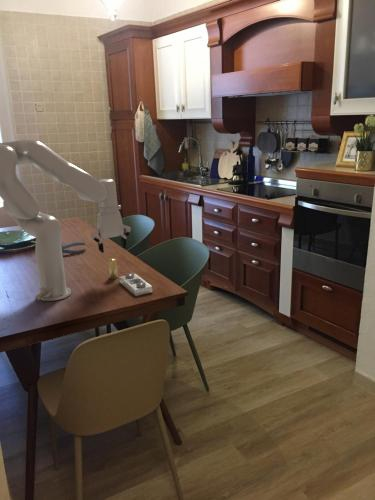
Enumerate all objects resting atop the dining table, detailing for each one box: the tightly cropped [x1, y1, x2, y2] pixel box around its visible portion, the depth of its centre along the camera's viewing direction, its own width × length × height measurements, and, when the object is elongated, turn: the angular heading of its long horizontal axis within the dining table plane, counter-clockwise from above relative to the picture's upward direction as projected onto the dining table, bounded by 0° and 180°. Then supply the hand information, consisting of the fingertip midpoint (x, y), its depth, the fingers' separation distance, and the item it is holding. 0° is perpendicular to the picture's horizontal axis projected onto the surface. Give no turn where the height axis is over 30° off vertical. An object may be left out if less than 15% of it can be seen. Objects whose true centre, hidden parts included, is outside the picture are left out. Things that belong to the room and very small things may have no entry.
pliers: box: [61, 241, 87, 255], centre depth 219 cm, size 20×2×6 cm, turn 113°
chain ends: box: [119, 272, 153, 297], centre depth 174 cm, size 17×7×4 cm, turn 29°
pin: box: [107, 257, 119, 280], centre depth 185 cm, size 3×3×8 cm
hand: (113, 249), depth 183 cm, fingers open, 9 cm apart
